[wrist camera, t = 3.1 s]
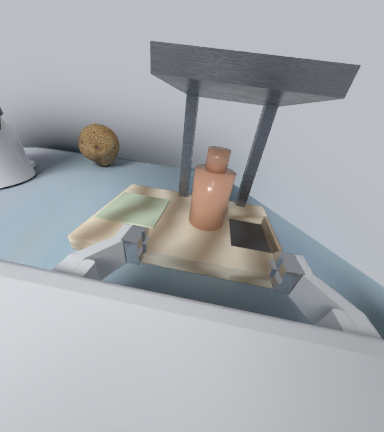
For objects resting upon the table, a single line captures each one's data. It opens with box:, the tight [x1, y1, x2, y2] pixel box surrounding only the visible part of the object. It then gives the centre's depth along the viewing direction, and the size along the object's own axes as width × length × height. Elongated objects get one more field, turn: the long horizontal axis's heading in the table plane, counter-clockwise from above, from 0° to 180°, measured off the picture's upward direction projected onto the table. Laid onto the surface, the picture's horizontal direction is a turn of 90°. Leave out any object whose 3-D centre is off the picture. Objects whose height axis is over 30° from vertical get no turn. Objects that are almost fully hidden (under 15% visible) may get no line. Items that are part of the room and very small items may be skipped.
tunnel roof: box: [150, 41, 360, 207], centre depth 20 cm, size 12×15×16 cm
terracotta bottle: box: [189, 146, 236, 231], centre depth 22 cm, size 5×5×10 cm
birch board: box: [68, 184, 283, 289], centre depth 25 cm, size 25×16×2 cm, turn 81°
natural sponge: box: [79, 124, 119, 166], centre depth 41 cm, size 9×9×10 cm
